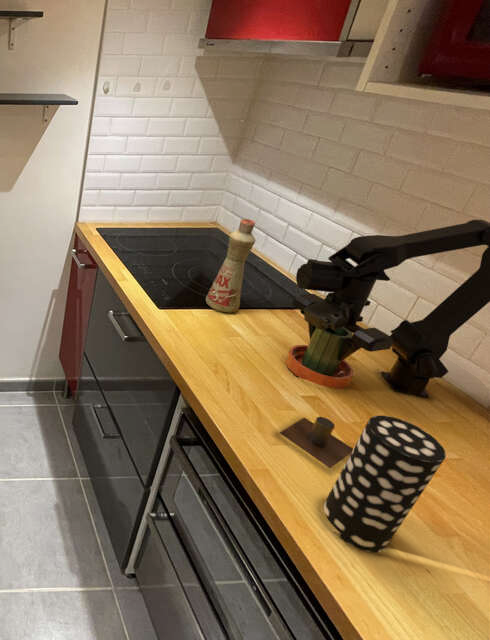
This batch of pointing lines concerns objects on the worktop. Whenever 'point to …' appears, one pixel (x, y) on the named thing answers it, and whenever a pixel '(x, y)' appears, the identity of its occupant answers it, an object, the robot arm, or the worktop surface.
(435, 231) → the robot arm
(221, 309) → the bottle
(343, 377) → the dish
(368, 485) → the spotted tube
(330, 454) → the post stand
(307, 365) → the green tube
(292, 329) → the worktop surface
